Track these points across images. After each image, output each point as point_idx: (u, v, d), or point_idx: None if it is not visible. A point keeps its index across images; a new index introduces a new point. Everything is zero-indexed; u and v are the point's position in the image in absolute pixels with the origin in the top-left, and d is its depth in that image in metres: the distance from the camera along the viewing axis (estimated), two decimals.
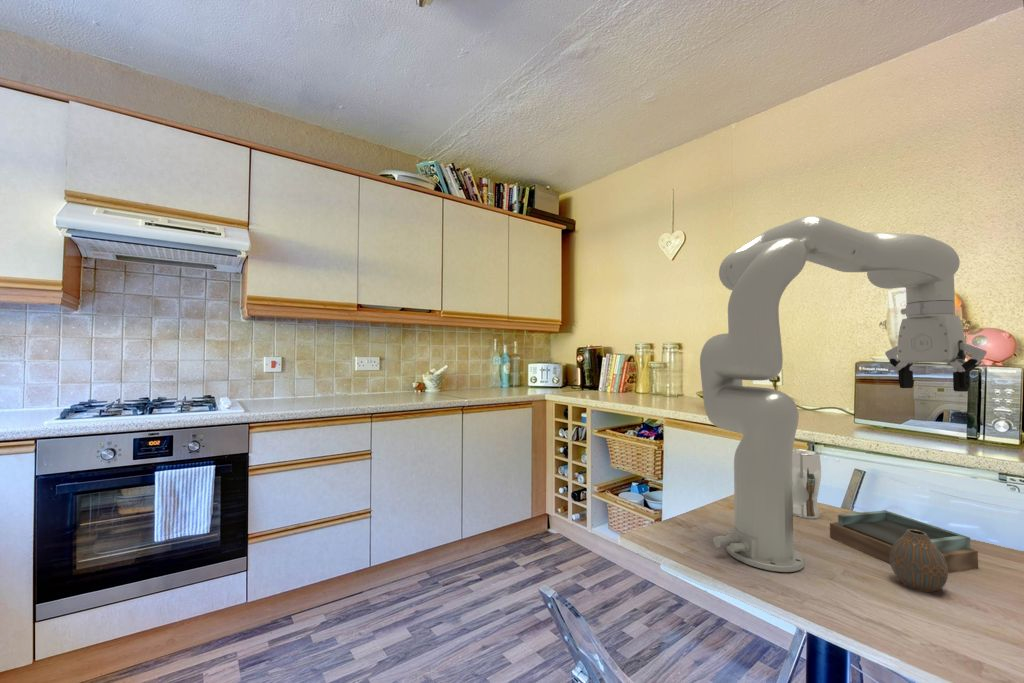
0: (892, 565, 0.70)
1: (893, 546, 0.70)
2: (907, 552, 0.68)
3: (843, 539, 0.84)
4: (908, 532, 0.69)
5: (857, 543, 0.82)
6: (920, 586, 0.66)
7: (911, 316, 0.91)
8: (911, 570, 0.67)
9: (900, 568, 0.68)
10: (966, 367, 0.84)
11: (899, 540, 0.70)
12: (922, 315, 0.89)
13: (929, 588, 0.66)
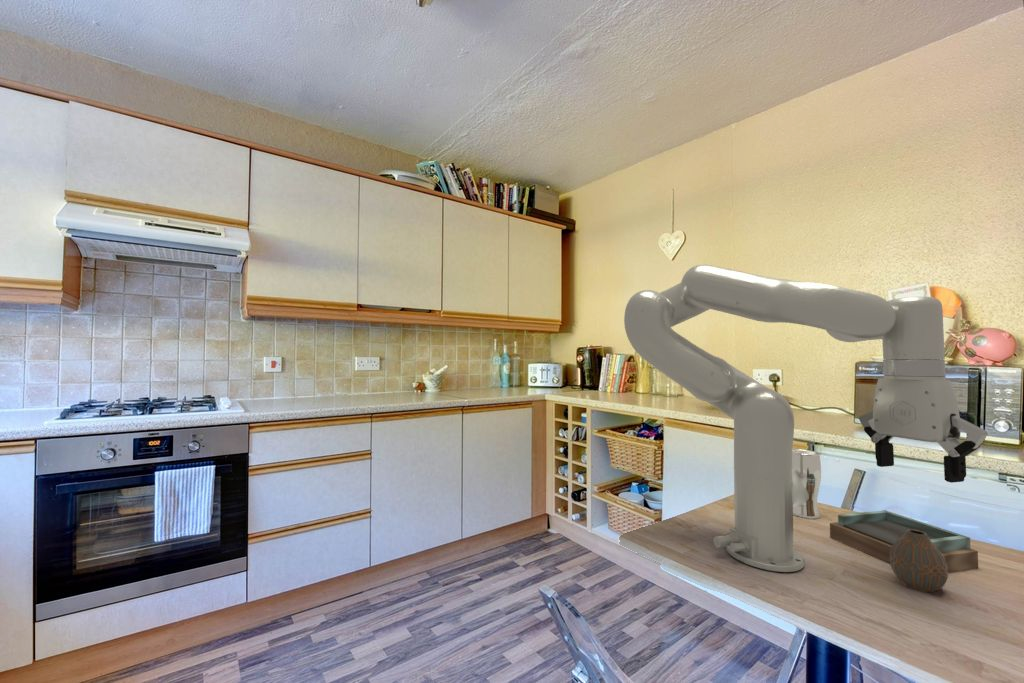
0: (892, 565, 0.70)
1: (893, 546, 0.70)
2: (907, 552, 0.68)
3: (843, 539, 0.84)
4: (908, 532, 0.69)
5: (857, 543, 0.82)
6: (920, 586, 0.66)
7: (889, 377, 0.70)
8: (911, 570, 0.67)
9: (900, 568, 0.68)
10: (960, 451, 0.63)
11: (899, 540, 0.70)
12: (903, 377, 0.68)
13: (929, 588, 0.66)
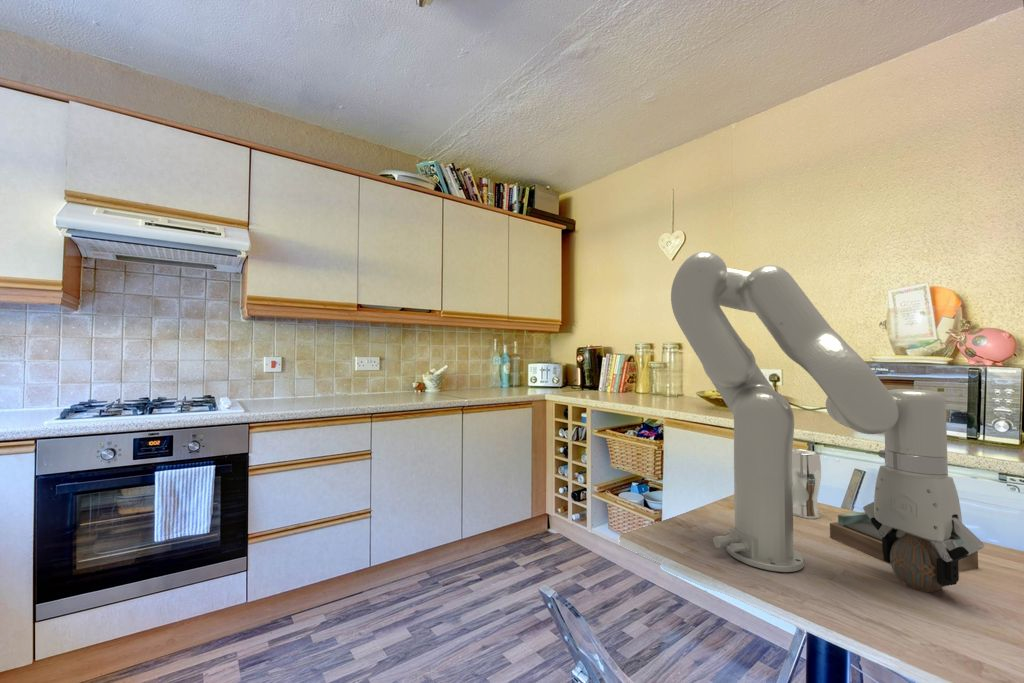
0: (892, 565, 0.70)
1: (893, 546, 0.70)
2: (907, 552, 0.68)
3: (843, 539, 0.84)
4: None
5: (857, 543, 0.82)
6: (920, 586, 0.66)
7: (891, 469, 0.70)
8: (911, 570, 0.67)
9: (900, 568, 0.68)
10: (953, 557, 0.64)
11: (899, 540, 0.70)
12: (904, 472, 0.68)
13: (929, 588, 0.66)
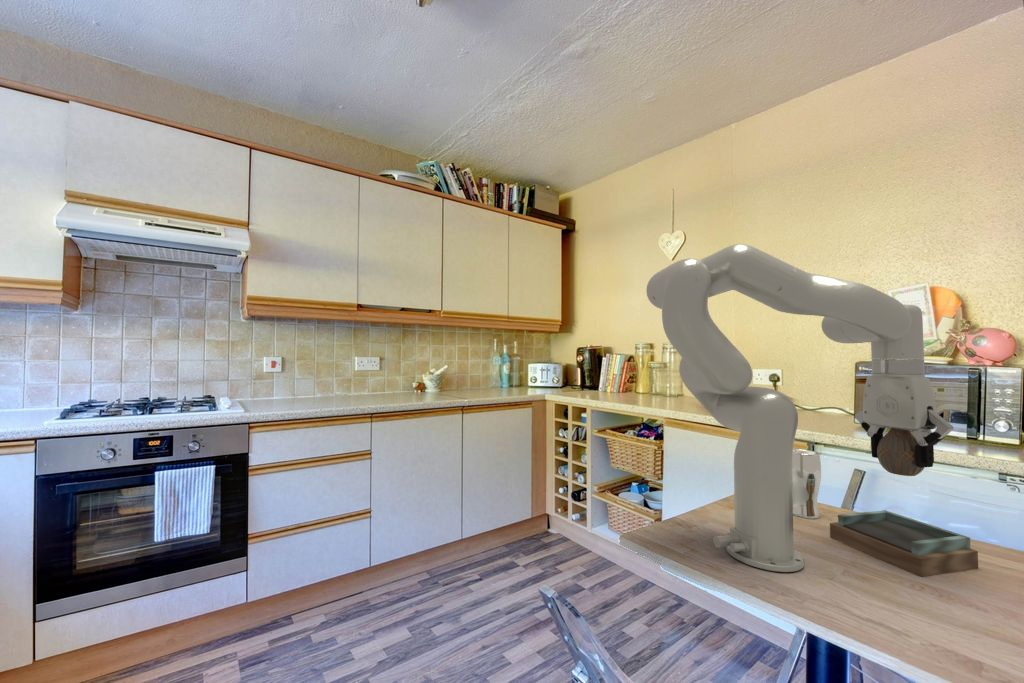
0: (879, 457, 0.81)
1: (880, 441, 0.81)
2: (890, 444, 0.79)
3: (843, 539, 0.84)
4: (892, 428, 0.80)
5: (857, 543, 0.82)
6: (902, 471, 0.77)
7: (876, 374, 0.81)
8: (894, 458, 0.78)
9: (885, 458, 0.79)
10: (928, 441, 0.75)
11: (885, 436, 0.81)
12: (887, 375, 0.79)
13: (909, 471, 0.77)
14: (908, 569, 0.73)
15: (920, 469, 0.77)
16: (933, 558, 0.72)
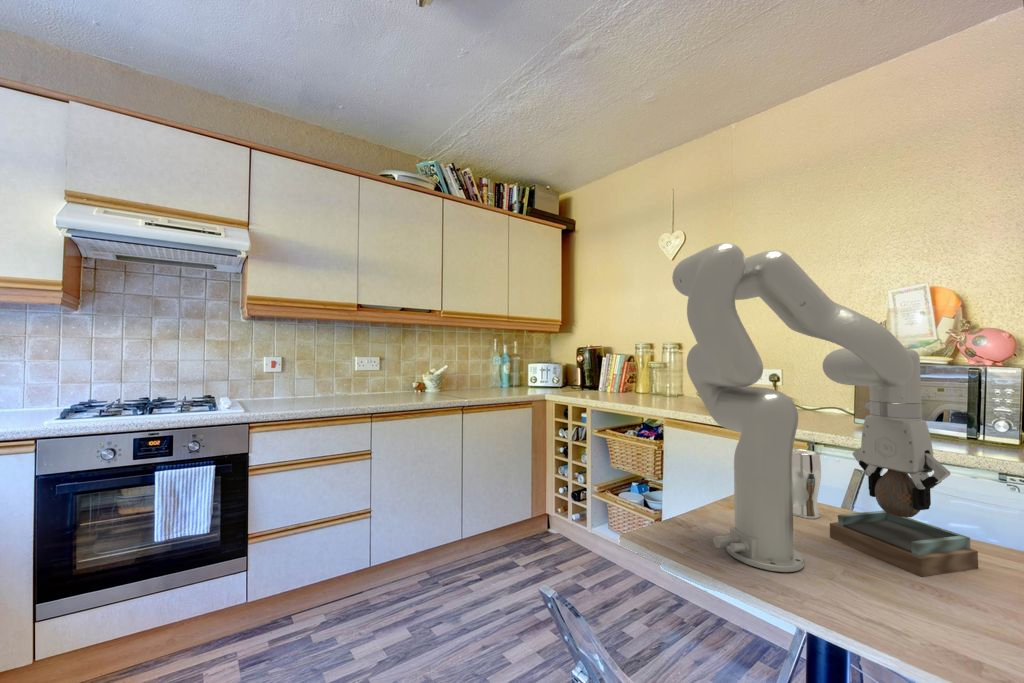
0: (877, 497, 0.82)
1: (877, 481, 0.83)
2: (888, 485, 0.80)
3: (843, 539, 0.84)
4: None
5: (857, 543, 0.82)
6: (899, 512, 0.79)
7: (874, 416, 0.82)
8: (892, 499, 0.80)
9: (883, 498, 0.81)
10: (926, 485, 0.76)
11: (882, 476, 0.82)
12: (886, 418, 0.80)
13: (907, 513, 0.79)
14: (908, 569, 0.73)
15: (917, 511, 0.78)
16: (933, 558, 0.72)
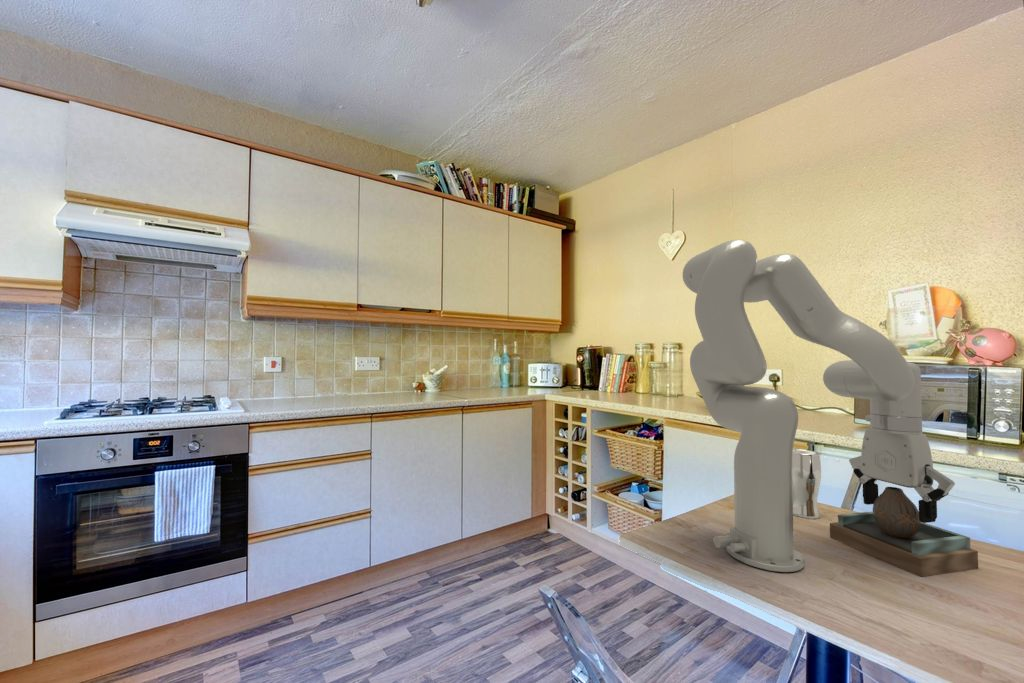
0: (875, 518, 0.82)
1: (875, 502, 0.82)
2: (887, 506, 0.80)
3: (843, 539, 0.84)
4: (887, 489, 0.82)
5: (857, 543, 0.82)
6: (899, 533, 0.79)
7: (874, 429, 0.82)
8: (891, 520, 0.79)
9: (882, 519, 0.80)
10: (932, 497, 0.75)
11: (880, 496, 0.82)
12: (886, 431, 0.80)
13: (907, 534, 0.78)
14: (908, 569, 0.73)
15: (916, 531, 0.78)
16: (933, 558, 0.72)
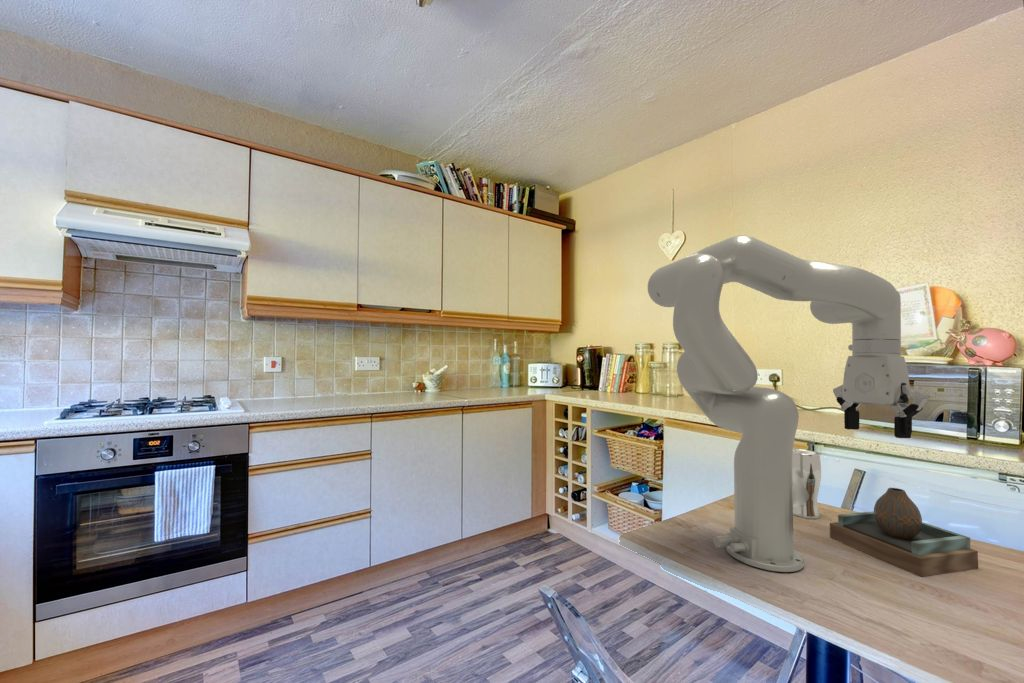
0: (876, 518, 0.82)
1: (877, 502, 0.82)
2: (889, 506, 0.80)
3: (843, 539, 0.84)
4: (889, 490, 0.81)
5: (857, 543, 0.82)
6: (900, 534, 0.79)
7: (855, 354, 0.86)
8: (892, 521, 0.79)
9: (883, 520, 0.80)
10: (907, 413, 0.78)
11: (882, 497, 0.82)
12: (865, 354, 0.84)
13: (907, 535, 0.78)
14: (908, 569, 0.73)
15: (917, 533, 0.78)
16: (933, 558, 0.72)
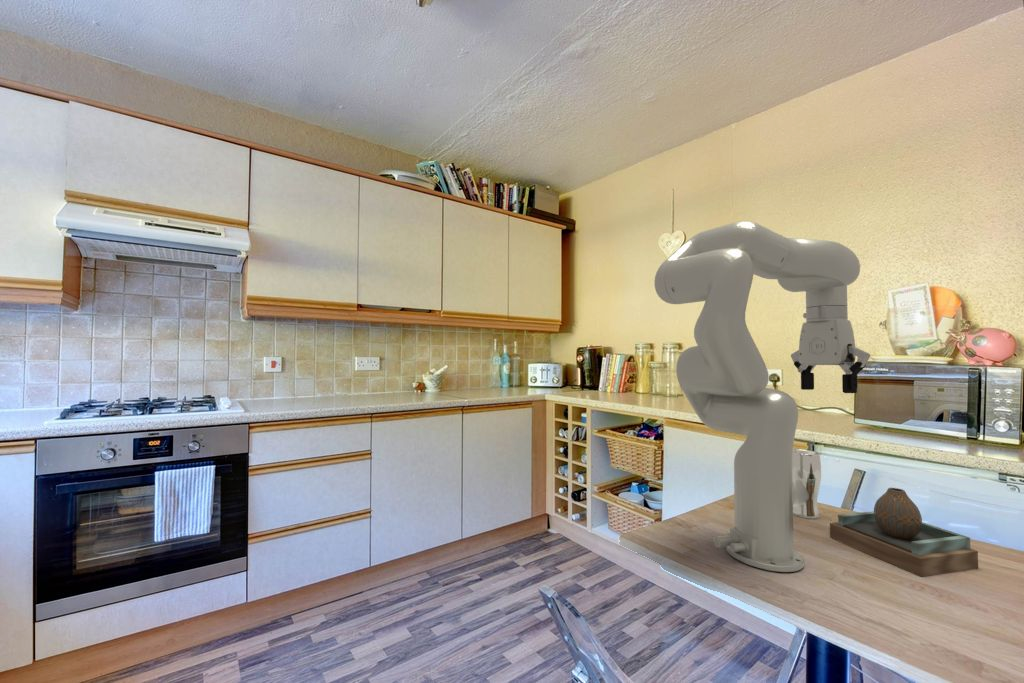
0: (876, 518, 0.82)
1: (877, 502, 0.82)
2: (889, 506, 0.80)
3: (843, 539, 0.84)
4: (889, 490, 0.81)
5: (857, 543, 0.82)
6: (900, 534, 0.79)
7: (808, 320, 0.94)
8: (892, 521, 0.79)
9: (883, 520, 0.80)
10: (853, 370, 0.87)
11: (882, 497, 0.82)
12: (817, 319, 0.92)
13: (907, 535, 0.78)
14: (908, 569, 0.73)
15: (917, 533, 0.78)
16: (933, 558, 0.72)
